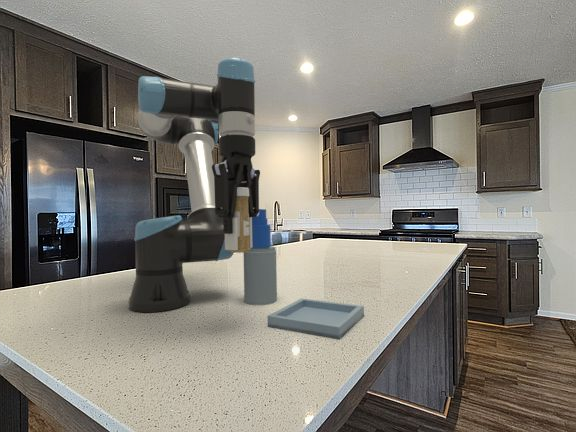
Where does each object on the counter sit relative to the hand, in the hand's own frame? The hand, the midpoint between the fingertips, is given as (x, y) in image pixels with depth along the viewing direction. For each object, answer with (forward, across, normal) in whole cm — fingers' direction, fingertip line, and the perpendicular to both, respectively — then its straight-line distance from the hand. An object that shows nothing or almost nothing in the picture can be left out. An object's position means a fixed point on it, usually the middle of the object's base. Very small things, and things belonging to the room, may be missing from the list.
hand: (239, 248), depth 71 cm
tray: (+17, +11, -13) cm, 24 cm away
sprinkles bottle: (+1, 0, 0) cm, 1 cm away
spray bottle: (+17, +20, +8) cm, 27 cm away
